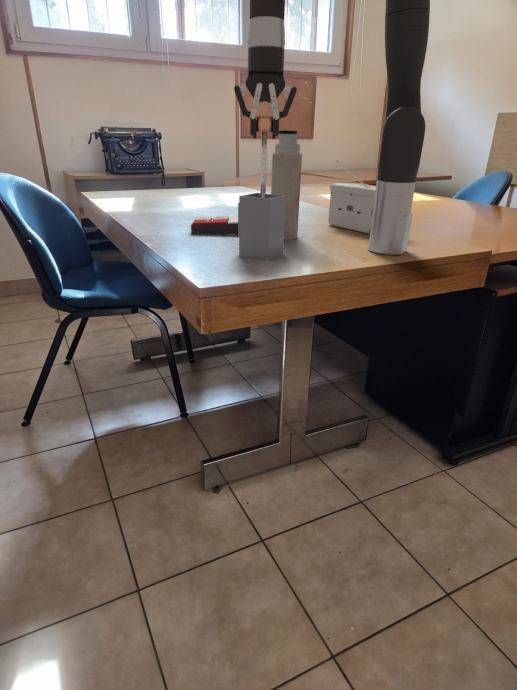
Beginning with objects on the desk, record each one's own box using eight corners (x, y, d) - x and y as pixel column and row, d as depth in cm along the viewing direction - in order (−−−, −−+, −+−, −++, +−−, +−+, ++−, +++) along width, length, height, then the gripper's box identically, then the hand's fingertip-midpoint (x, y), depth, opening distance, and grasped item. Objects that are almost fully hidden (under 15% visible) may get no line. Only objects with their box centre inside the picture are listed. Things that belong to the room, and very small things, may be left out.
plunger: (279, 210, 108) (283, 117, 100) (267, 213, 103) (270, 116, 95) (257, 207, 111) (259, 116, 102) (245, 210, 106) (245, 115, 98)
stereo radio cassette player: (391, 233, 139) (401, 163, 130) (374, 236, 134) (383, 164, 126) (341, 223, 154) (347, 159, 145) (324, 225, 149) (329, 160, 141)
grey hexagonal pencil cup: (283, 253, 113) (285, 195, 107) (267, 260, 107) (269, 199, 101) (248, 248, 117) (248, 191, 112) (231, 254, 111) (231, 195, 105)
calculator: (194, 216, 140) (243, 214, 140) (196, 230, 142) (243, 228, 142) (190, 222, 131) (242, 220, 130) (191, 237, 132) (242, 235, 132)
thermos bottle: (298, 234, 134) (305, 130, 122) (295, 240, 127) (301, 130, 115) (272, 233, 135) (275, 129, 123) (267, 238, 128) (270, 129, 116)
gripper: (299, 50, 97) (294, 139, 104) (232, 49, 96) (233, 137, 104) (302, 44, 90) (297, 139, 97) (231, 42, 90) (231, 138, 97)
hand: (264, 138), depth 100 cm, fingers closed on plunger, 3 cm apart
